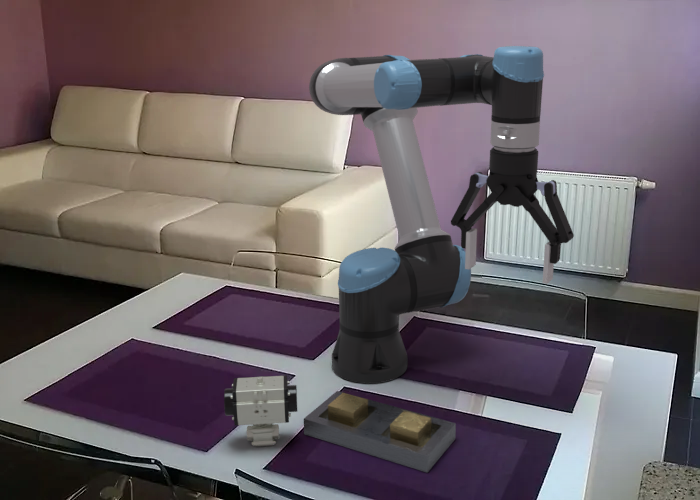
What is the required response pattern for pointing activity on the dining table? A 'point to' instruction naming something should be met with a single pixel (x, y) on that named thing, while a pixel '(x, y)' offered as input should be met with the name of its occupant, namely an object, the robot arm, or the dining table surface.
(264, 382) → the pneumatic valve
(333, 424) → the tray
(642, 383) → the dining table surface
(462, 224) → the robot arm
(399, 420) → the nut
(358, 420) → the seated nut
